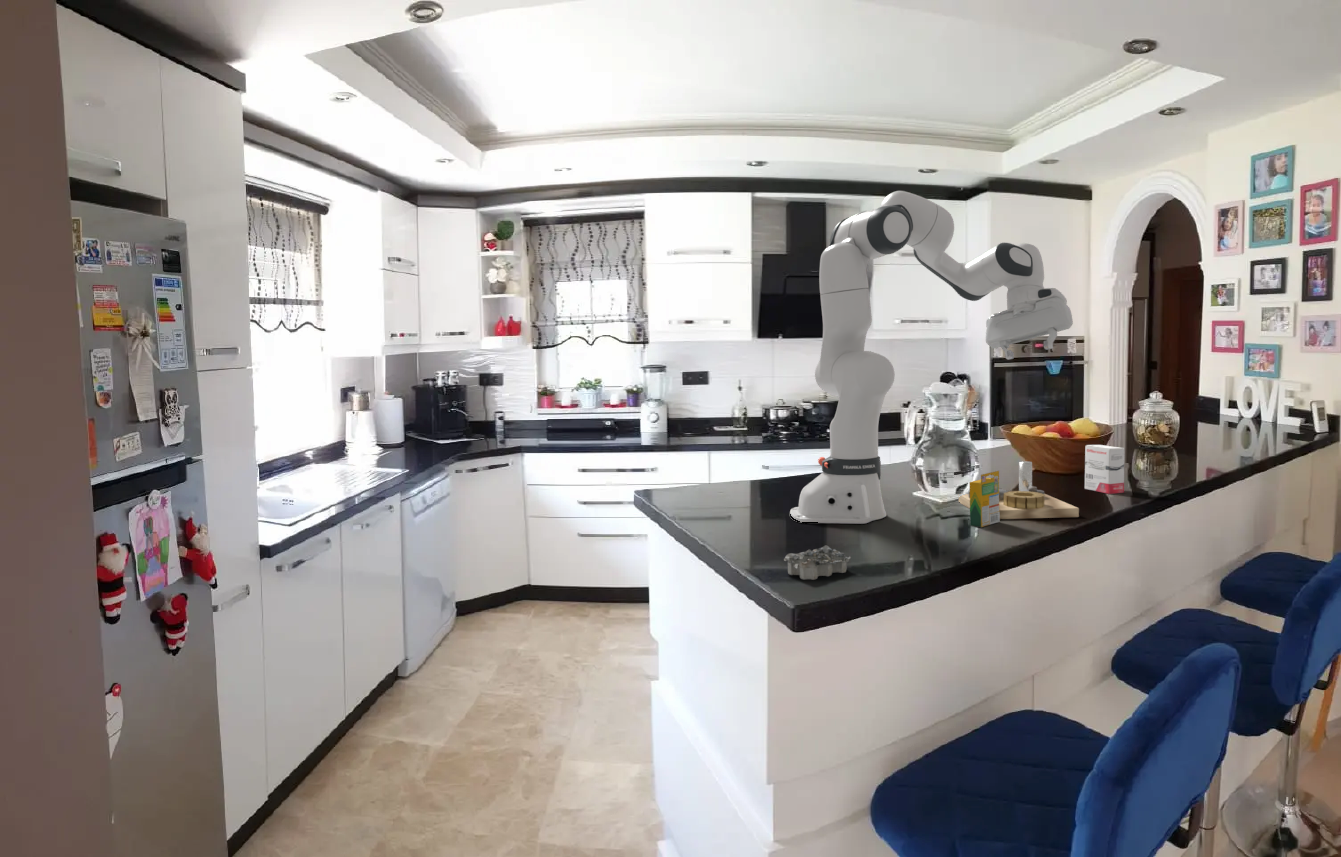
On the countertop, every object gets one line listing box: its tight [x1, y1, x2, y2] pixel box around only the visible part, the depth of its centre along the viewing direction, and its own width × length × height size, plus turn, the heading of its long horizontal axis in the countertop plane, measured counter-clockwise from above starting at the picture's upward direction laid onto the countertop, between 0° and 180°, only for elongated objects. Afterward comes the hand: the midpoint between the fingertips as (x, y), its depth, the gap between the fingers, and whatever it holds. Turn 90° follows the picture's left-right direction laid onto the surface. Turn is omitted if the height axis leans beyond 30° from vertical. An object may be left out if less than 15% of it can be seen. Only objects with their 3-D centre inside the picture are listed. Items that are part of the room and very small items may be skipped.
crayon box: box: [968, 470, 1001, 528], centre depth 165 cm, size 7×3×12 cm, turn 126°
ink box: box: [1084, 444, 1125, 495], centre depth 195 cm, size 8×5×12 cm, turn 13°
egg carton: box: [783, 545, 852, 581], centre depth 135 cm, size 11×8×4 cm
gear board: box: [958, 485, 1080, 520], centre depth 178 cm, size 20×20×4 cm
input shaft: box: [1018, 460, 1033, 491], centre depth 191 cm, size 3×3×9 cm
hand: (1028, 353), depth 184 cm, fingers open, 8 cm apart
